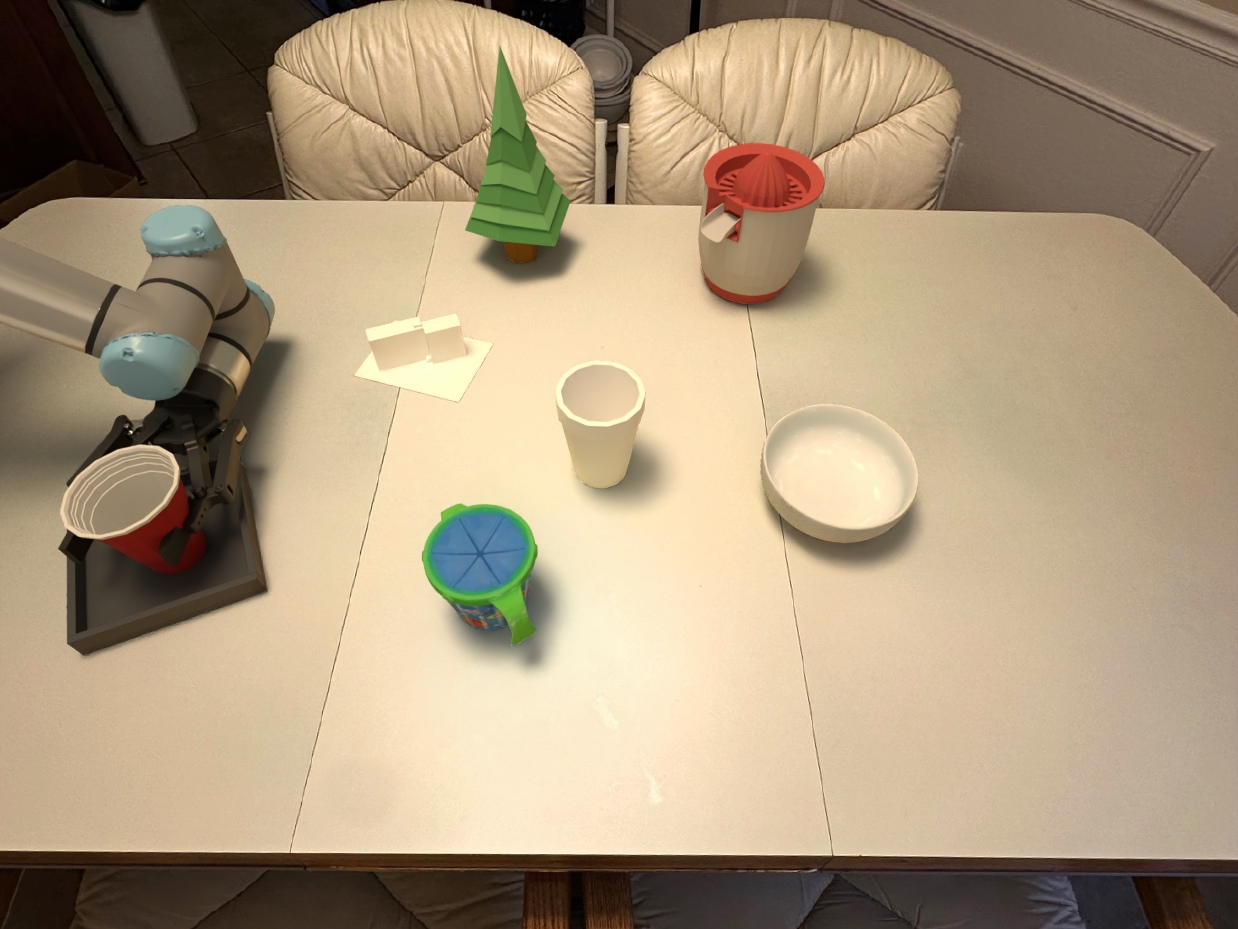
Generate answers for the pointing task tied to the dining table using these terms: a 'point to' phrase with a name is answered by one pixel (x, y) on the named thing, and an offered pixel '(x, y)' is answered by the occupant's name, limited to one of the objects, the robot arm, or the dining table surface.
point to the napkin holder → (424, 356)
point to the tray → (164, 579)
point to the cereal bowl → (838, 472)
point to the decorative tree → (516, 181)
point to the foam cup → (600, 419)
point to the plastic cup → (132, 505)
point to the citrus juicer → (756, 219)
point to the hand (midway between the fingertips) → (118, 557)
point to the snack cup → (483, 566)
